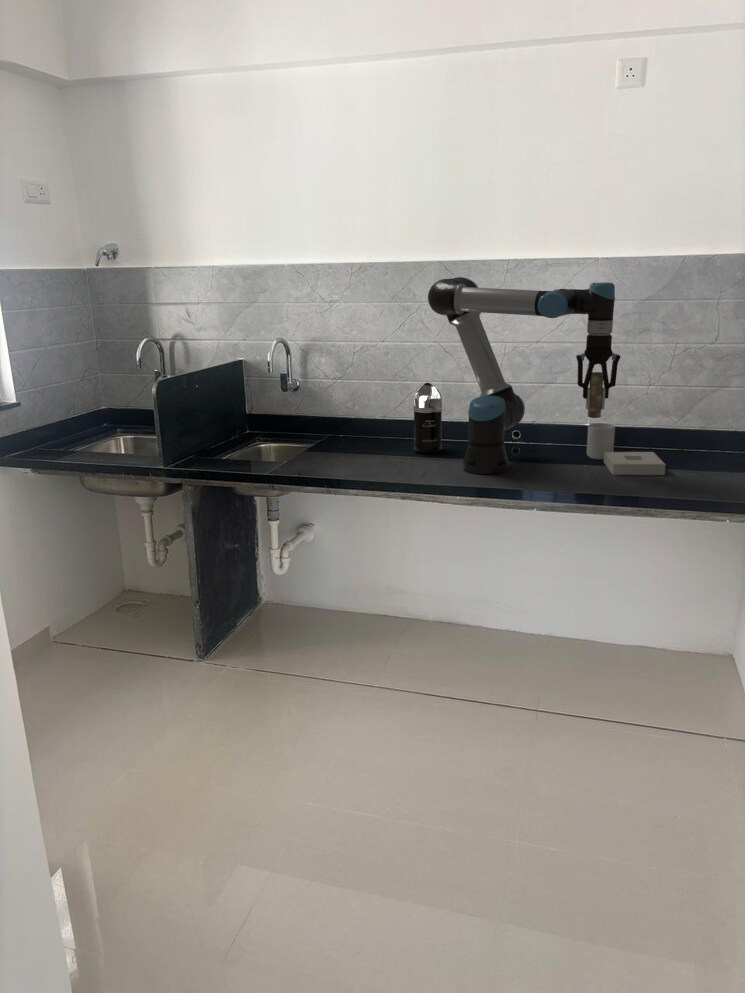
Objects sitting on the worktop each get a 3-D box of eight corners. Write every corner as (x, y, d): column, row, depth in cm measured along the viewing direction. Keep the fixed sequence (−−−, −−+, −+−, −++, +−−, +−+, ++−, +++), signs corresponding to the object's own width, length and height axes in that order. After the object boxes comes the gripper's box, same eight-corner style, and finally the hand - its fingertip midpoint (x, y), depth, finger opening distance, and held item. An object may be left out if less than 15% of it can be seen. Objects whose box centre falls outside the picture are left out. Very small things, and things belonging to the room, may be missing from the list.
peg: (588, 417, 248) (591, 373, 244) (586, 415, 252) (589, 371, 247) (601, 417, 247) (604, 373, 243) (599, 415, 251) (602, 371, 247)
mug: (613, 461, 266) (615, 429, 262) (586, 459, 268) (588, 428, 265) (612, 452, 277) (614, 421, 273) (586, 451, 279) (588, 420, 276)
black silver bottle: (411, 448, 289) (411, 381, 282) (439, 447, 290) (439, 379, 283) (416, 455, 280) (415, 385, 272) (444, 453, 281) (444, 384, 273)
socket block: (612, 474, 250) (613, 464, 248) (603, 461, 265) (604, 451, 264) (664, 475, 248) (665, 464, 247) (652, 462, 263) (653, 451, 262)
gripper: (573, 335, 239) (569, 411, 246) (630, 335, 237) (624, 410, 244) (569, 333, 246) (565, 406, 253) (625, 332, 245) (619, 406, 252)
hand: (594, 408), depth 249 cm, fingers closed on peg, 4 cm apart
